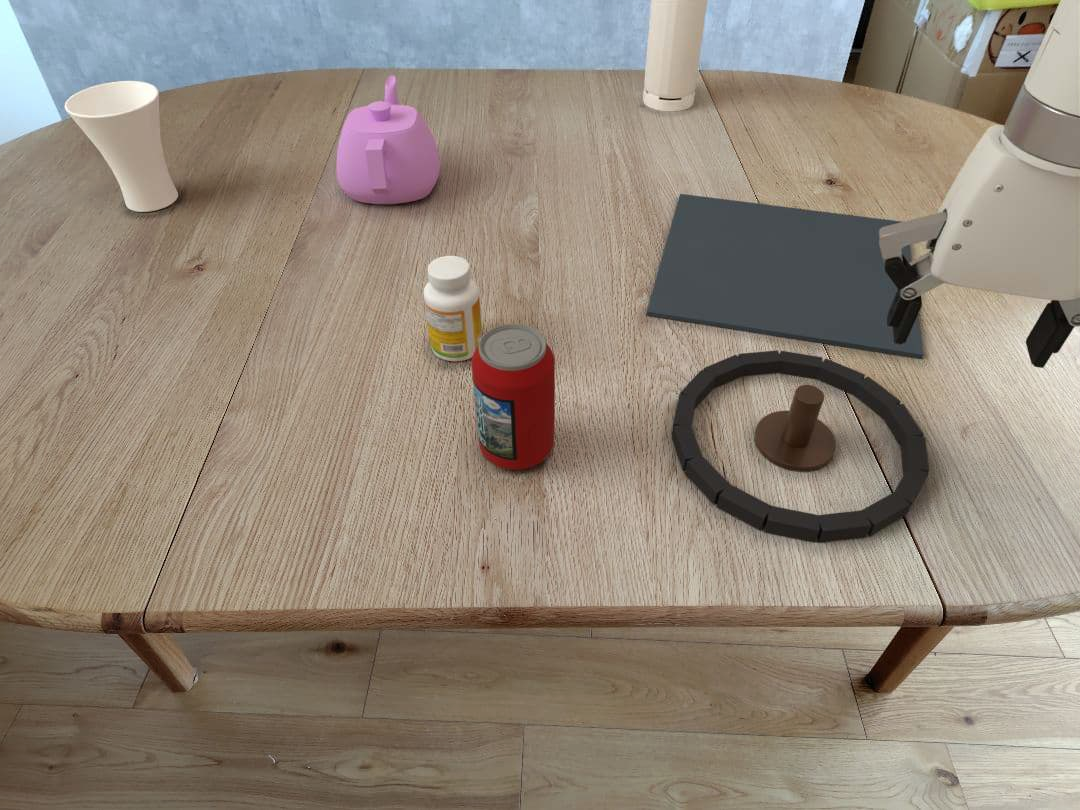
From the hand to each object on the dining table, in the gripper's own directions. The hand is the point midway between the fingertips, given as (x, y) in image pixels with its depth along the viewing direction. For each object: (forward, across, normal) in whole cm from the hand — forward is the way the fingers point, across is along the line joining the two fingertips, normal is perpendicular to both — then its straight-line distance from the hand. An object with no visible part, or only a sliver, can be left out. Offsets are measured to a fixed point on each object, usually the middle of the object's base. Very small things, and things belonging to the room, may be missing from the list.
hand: (964, 343), depth 58 cm
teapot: (+15, +63, -35) cm, 74 cm away
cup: (+15, +92, -23) cm, 96 cm away
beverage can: (+14, +33, +7) cm, 37 cm away
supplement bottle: (+14, +43, -5) cm, 46 cm away
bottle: (+15, +31, -71) cm, 79 cm away
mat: (+14, +11, -28) cm, 33 cm away
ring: (+14, +9, 0) cm, 16 cm away
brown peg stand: (+14, +9, 0) cm, 16 cm away
